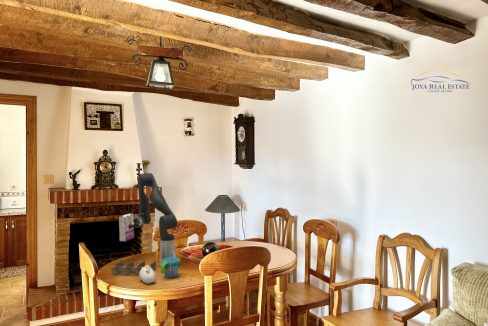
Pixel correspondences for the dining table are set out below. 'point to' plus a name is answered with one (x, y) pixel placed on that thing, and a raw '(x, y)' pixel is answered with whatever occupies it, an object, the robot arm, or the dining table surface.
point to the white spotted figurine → (147, 274)
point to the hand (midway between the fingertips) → (124, 227)
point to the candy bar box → (126, 227)
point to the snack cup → (170, 267)
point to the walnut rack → (130, 268)
